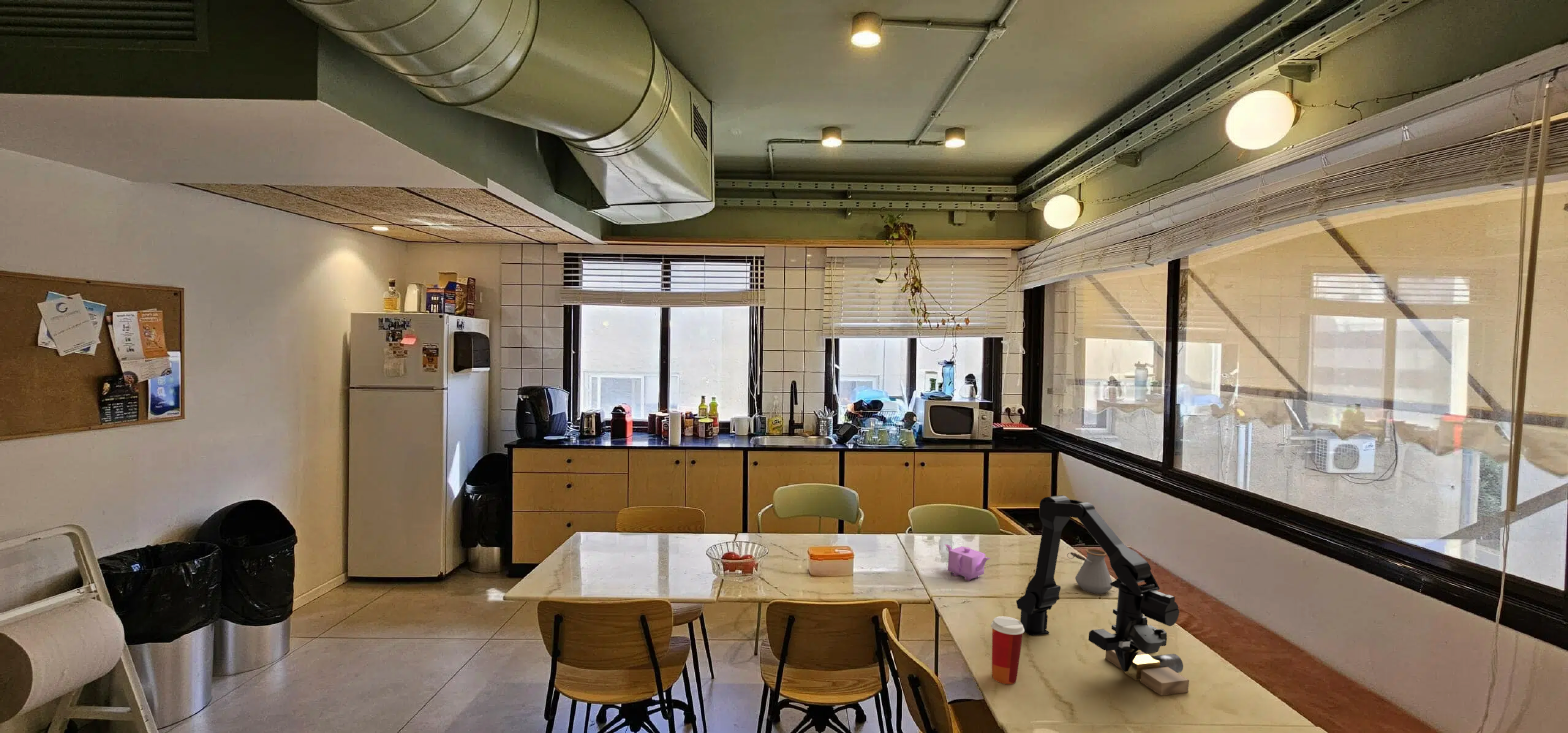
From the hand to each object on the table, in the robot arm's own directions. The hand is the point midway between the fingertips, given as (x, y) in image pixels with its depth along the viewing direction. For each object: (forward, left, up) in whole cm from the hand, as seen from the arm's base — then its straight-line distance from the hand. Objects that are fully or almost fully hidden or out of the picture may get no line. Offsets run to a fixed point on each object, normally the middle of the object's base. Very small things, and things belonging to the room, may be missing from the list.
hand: (1124, 671), depth 166 cm
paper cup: (-31, +5, -2) cm, 31 cm away
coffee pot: (+29, +49, -2) cm, 57 cm away
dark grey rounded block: (+12, 0, -2) cm, 12 cm away
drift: (+5, 0, -2) cm, 5 cm away
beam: (+6, 0, -2) cm, 6 cm away
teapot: (-3, +69, -2) cm, 69 cm away
